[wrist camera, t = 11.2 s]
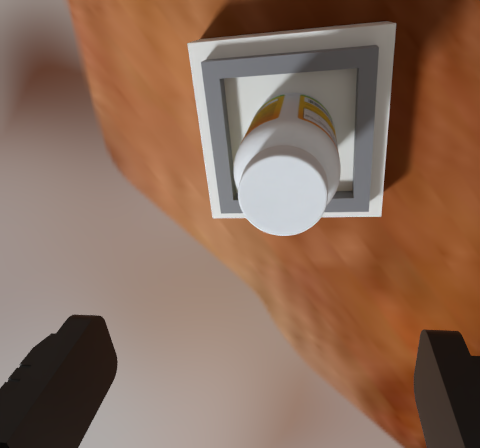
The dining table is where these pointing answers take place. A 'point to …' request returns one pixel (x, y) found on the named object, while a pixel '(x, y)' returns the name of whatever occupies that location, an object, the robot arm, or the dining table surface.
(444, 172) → the dining table surface
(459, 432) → the robot arm
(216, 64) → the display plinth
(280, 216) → the supplement bottle
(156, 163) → the dining table surface
